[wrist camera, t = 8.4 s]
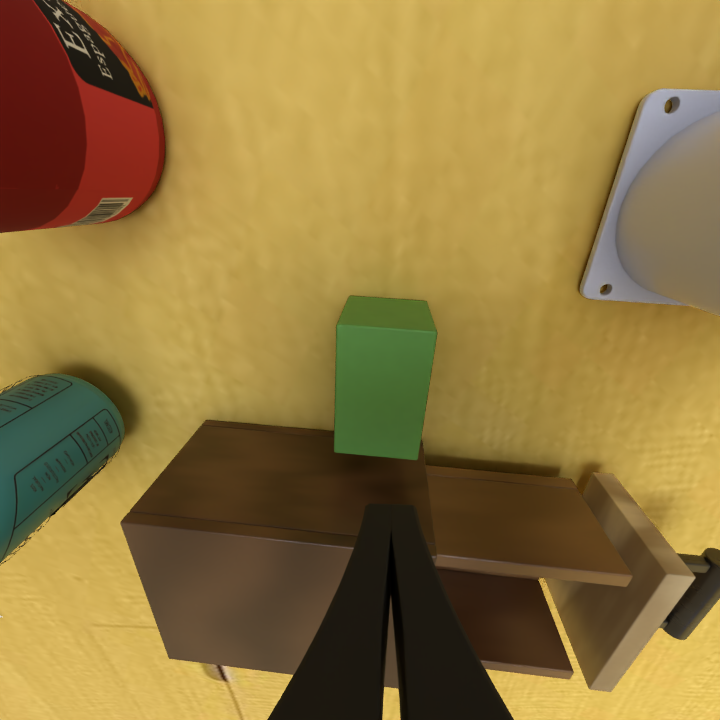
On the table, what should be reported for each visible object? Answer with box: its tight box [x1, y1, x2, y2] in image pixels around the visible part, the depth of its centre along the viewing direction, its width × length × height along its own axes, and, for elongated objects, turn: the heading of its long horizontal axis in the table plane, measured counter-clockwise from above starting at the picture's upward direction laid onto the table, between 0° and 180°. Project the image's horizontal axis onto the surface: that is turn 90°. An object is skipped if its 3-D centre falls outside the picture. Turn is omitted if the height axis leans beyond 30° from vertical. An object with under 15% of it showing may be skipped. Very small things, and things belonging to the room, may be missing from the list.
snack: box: [334, 296, 437, 460], centre depth 17 cm, size 4×6×4 cm, turn 177°
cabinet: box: [120, 420, 437, 689], centre depth 20 cm, size 14×11×8 cm
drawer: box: [426, 465, 720, 692], centre depth 20 cm, size 18×10×6 cm, turn 87°
